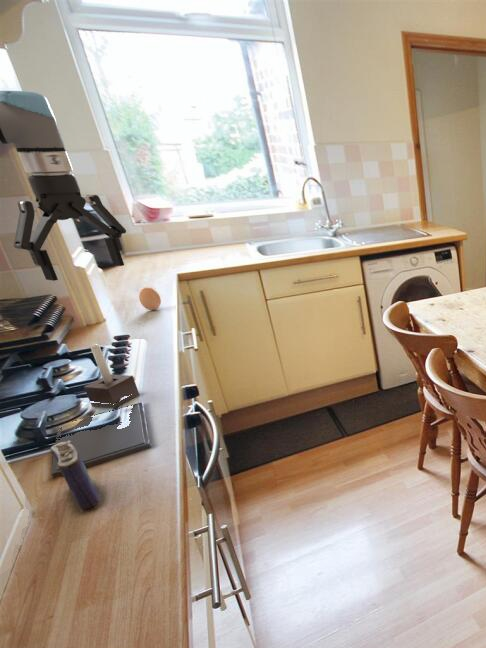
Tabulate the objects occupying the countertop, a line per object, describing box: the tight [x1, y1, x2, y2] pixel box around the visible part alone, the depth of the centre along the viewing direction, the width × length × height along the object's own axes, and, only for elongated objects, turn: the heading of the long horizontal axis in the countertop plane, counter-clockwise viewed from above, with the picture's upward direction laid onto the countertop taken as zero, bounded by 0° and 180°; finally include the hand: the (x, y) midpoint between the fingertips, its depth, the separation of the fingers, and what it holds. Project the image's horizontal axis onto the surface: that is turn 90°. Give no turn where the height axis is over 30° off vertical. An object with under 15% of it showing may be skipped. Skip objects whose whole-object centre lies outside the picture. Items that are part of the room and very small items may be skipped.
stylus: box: [90, 343, 114, 384], centre depth 103 cm, size 2×2×14 cm
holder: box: [83, 373, 140, 409], centre depth 105 cm, size 6×6×5 cm
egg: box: [138, 286, 162, 311], centre depth 161 cm, size 6×6×8 cm
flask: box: [50, 440, 101, 512], centre depth 75 cm, size 9×3×11 cm, turn 50°
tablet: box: [50, 401, 152, 479], centre depth 92 cm, size 20×14×1 cm
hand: (87, 272), depth 107 cm, fingers open, 13 cm apart
